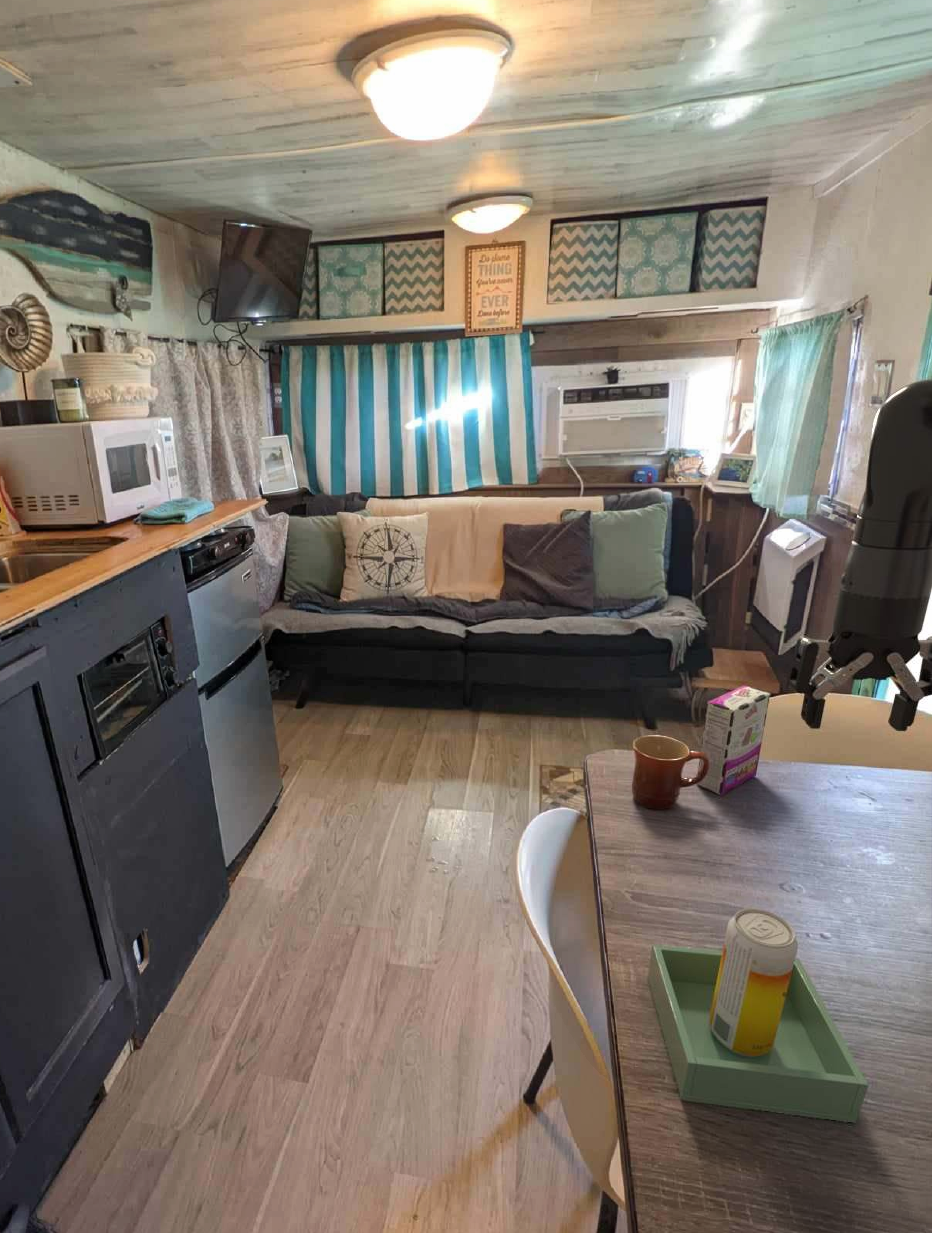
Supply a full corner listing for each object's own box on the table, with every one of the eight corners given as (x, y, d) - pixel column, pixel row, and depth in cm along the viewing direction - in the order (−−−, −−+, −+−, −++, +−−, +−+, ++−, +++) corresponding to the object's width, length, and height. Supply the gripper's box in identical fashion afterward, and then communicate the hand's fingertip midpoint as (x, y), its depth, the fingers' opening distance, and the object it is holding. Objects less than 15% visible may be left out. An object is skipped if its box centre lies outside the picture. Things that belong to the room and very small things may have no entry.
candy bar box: (729, 765, 127) (744, 684, 121) (756, 776, 123) (773, 693, 117) (693, 784, 121) (706, 700, 115) (720, 796, 117) (735, 710, 111)
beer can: (785, 1045, 72) (814, 934, 67) (747, 1071, 70) (774, 958, 64) (732, 1004, 77) (755, 898, 72) (695, 1026, 75) (716, 918, 69)
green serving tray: (789, 992, 79) (798, 957, 77) (856, 1124, 65) (869, 1085, 63) (647, 978, 82) (652, 943, 80) (680, 1100, 68) (688, 1062, 66)
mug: (630, 812, 114) (636, 758, 111) (623, 784, 122) (629, 733, 118) (708, 818, 112) (718, 763, 108) (696, 790, 120) (704, 738, 116)
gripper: (825, 596, 69) (798, 740, 75) (988, 594, 66) (947, 744, 72) (794, 579, 76) (771, 712, 82) (941, 576, 73) (907, 714, 79)
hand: (854, 727), depth 77 cm, fingers open, 8 cm apart
